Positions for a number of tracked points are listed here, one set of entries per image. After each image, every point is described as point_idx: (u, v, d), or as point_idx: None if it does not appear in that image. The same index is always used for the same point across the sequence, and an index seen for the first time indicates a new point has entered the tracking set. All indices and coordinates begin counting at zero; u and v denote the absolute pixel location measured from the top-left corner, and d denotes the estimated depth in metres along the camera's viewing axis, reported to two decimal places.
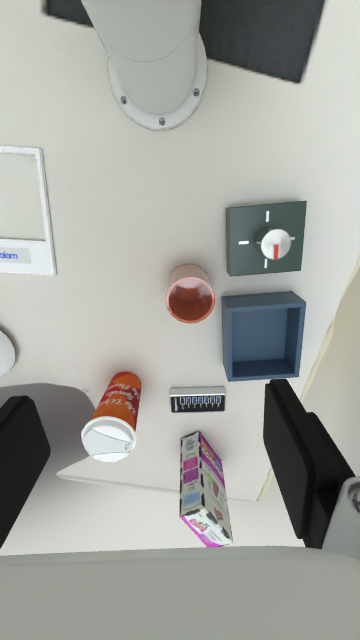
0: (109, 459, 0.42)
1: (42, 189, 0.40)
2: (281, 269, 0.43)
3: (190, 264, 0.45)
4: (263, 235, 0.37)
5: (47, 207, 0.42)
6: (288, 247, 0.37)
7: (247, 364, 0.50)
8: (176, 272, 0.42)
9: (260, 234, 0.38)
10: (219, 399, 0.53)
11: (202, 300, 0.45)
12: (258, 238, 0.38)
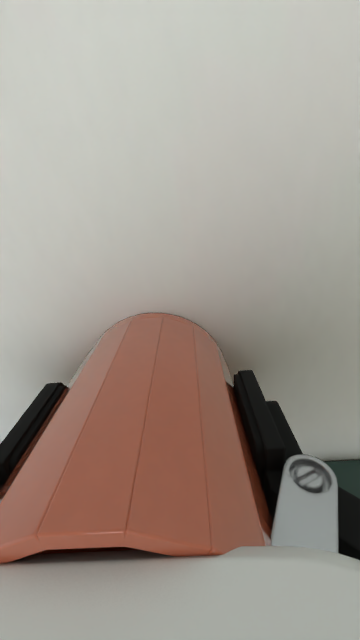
0: None
1: None
2: None
3: None
4: None
5: None
6: None
7: None
8: (227, 385, 0.10)
9: None
10: None
11: None
12: None
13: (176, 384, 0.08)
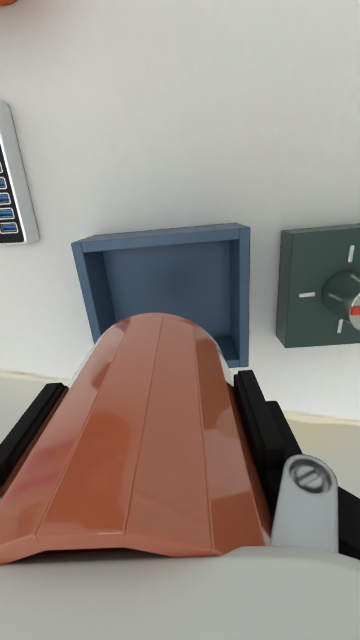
0: None
1: None
2: (291, 320, 0.26)
3: None
4: None
5: None
6: None
7: (104, 282, 0.26)
8: (227, 385, 0.10)
9: None
10: (9, 230, 0.24)
11: None
12: None
13: (176, 384, 0.08)
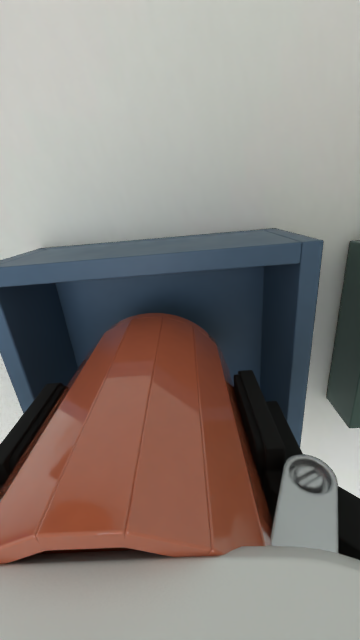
0: None
1: None
2: None
3: None
4: None
5: None
6: None
7: (56, 326, 0.16)
8: (227, 385, 0.10)
9: None
10: None
11: None
12: None
13: (176, 384, 0.08)
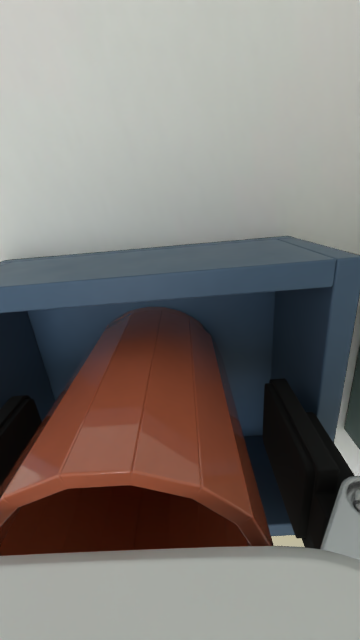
0: None
1: None
2: None
3: None
4: None
5: None
6: None
7: (25, 354, 0.13)
8: (219, 370, 0.11)
9: None
10: None
11: None
12: None
13: (173, 366, 0.09)
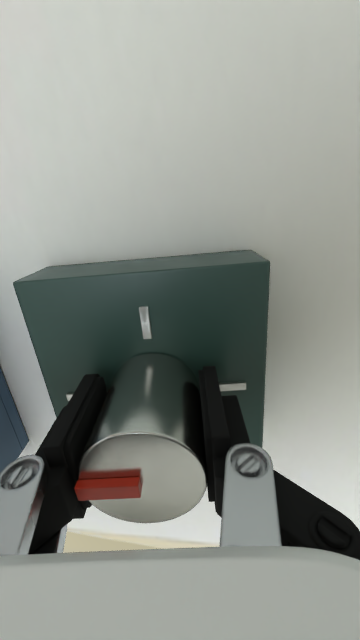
0: None
1: None
2: None
3: None
4: (179, 425, 0.08)
5: None
6: (133, 518, 0.09)
7: None
8: None
9: (179, 394, 0.10)
10: None
11: None
12: (162, 395, 0.09)
13: None
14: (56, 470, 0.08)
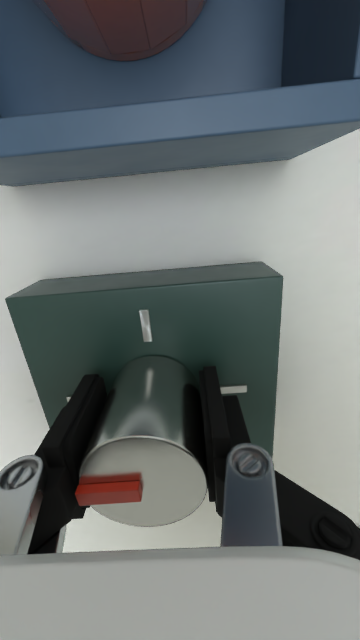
0: None
1: None
2: (80, 303, 0.11)
3: (117, 56, 0.09)
4: (177, 428, 0.08)
5: None
6: (135, 522, 0.09)
7: None
8: None
9: (178, 396, 0.10)
10: None
11: None
12: (161, 398, 0.09)
13: None
14: (55, 470, 0.08)
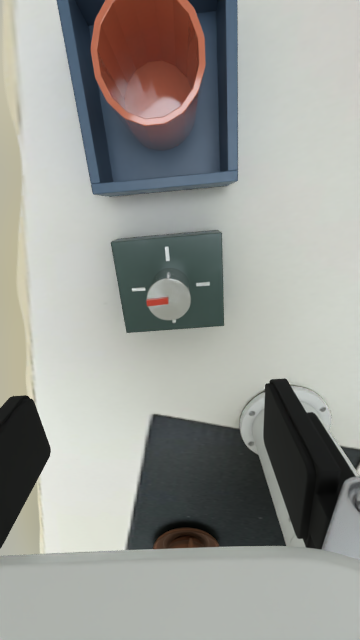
0: None
1: None
2: (141, 244, 0.27)
3: (158, 150, 0.26)
4: (180, 280, 0.25)
5: None
6: (165, 317, 0.25)
7: None
8: (182, 134, 0.22)
9: (180, 276, 0.26)
10: None
11: (128, 63, 0.21)
12: (174, 274, 0.25)
13: (198, 101, 0.20)
14: None
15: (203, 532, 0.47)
